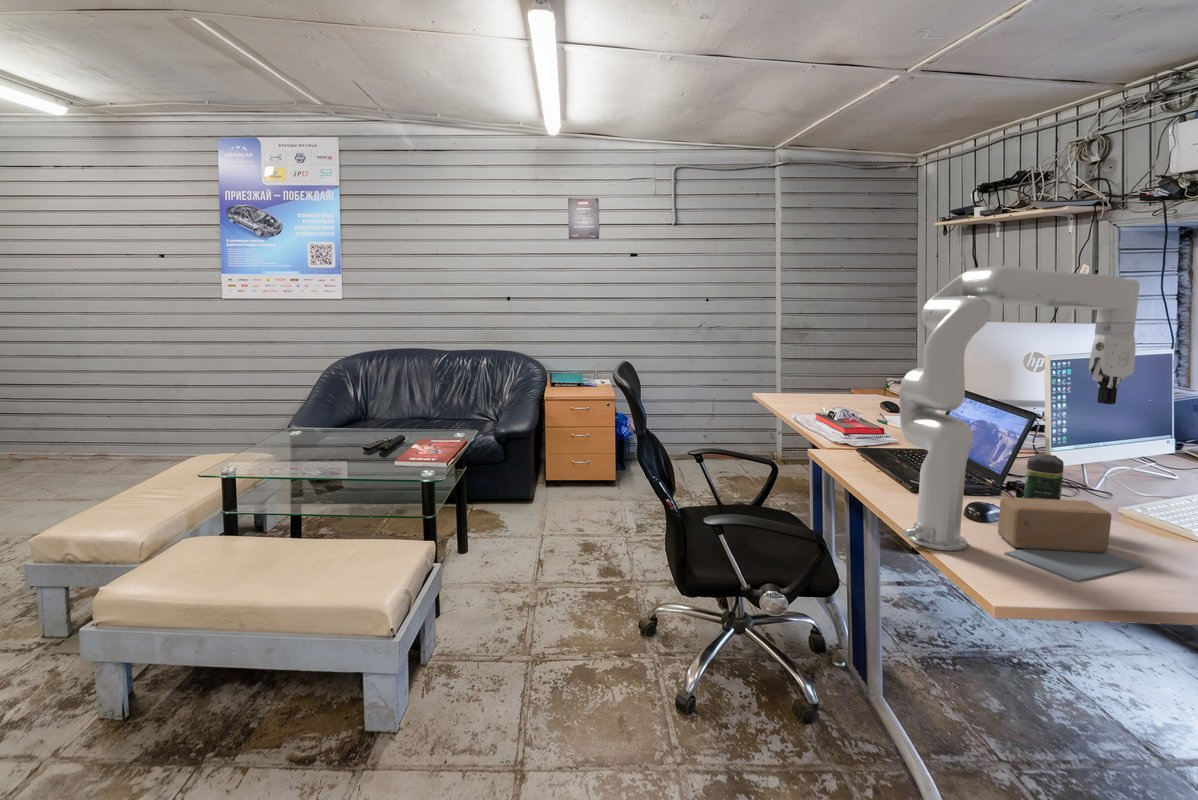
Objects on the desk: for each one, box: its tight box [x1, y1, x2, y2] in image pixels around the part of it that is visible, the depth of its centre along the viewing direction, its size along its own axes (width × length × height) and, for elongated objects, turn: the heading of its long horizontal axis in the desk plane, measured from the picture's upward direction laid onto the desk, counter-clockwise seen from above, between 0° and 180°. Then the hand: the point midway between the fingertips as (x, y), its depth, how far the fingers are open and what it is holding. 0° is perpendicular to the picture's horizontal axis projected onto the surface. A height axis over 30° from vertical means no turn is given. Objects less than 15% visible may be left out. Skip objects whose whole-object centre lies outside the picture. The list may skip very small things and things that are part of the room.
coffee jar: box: [1023, 453, 1064, 500], centre depth 164 cm, size 10×8×19 cm
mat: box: [1004, 548, 1145, 583], centre depth 142 cm, size 22×16×1 cm
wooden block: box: [997, 496, 1112, 553], centre depth 150 cm, size 10×10×20 cm
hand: (1106, 403), depth 156 cm, fingers closed
